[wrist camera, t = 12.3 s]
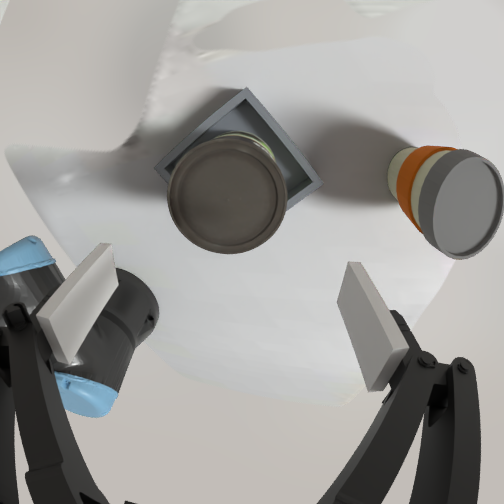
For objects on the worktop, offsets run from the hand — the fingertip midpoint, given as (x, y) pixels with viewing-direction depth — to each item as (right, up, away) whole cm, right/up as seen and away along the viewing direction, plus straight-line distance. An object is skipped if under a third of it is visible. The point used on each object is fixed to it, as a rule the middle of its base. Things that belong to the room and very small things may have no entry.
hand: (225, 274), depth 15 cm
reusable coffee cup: (+25, +13, +22) cm, 36 cm away
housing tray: (0, +12, +22) cm, 25 cm away
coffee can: (-1, +12, +21) cm, 24 cm away
